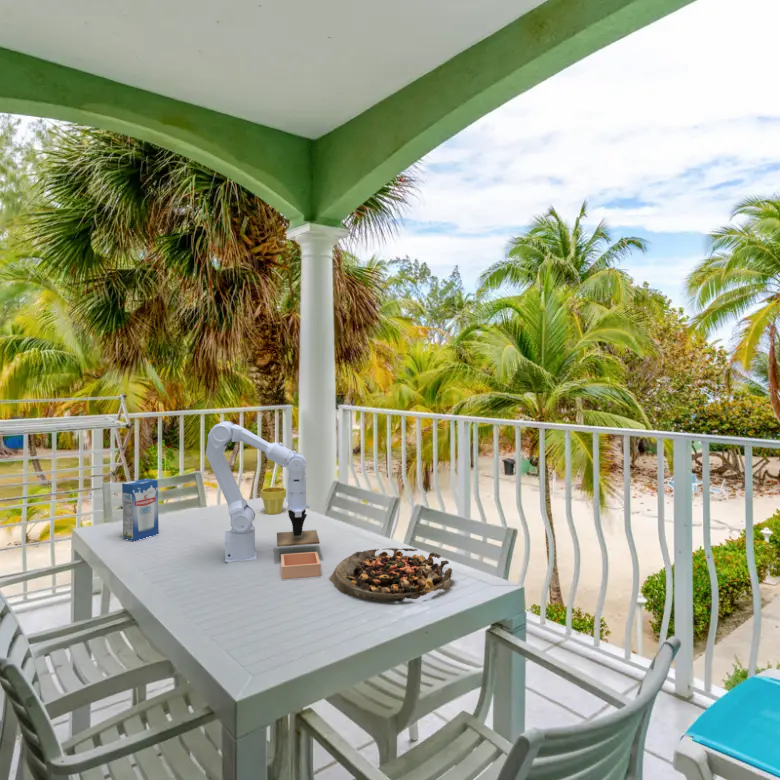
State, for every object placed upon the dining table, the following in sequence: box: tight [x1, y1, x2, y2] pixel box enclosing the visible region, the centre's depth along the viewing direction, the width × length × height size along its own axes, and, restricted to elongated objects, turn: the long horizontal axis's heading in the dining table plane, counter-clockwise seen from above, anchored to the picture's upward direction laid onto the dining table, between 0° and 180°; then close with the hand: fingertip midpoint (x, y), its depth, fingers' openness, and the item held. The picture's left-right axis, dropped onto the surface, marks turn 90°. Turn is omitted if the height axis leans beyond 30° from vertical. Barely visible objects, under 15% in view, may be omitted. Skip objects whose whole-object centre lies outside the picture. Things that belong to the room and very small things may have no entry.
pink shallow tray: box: [280, 552, 322, 582], centre depth 165 cm, size 11×11×4 cm
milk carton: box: [121, 478, 160, 542], centre depth 200 cm, size 10×6×20 cm, turn 148°
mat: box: [273, 544, 324, 565], centre depth 179 cm, size 15×15×1 cm
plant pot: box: [260, 486, 287, 515], centre depth 233 cm, size 10×10×10 cm
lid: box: [276, 529, 321, 548], centre depth 179 cm, size 13×13×5 cm
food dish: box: [328, 547, 453, 602], centre depth 159 cm, size 35×33×8 cm
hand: (297, 533), depth 179 cm, fingers closed on lid, 3 cm apart
